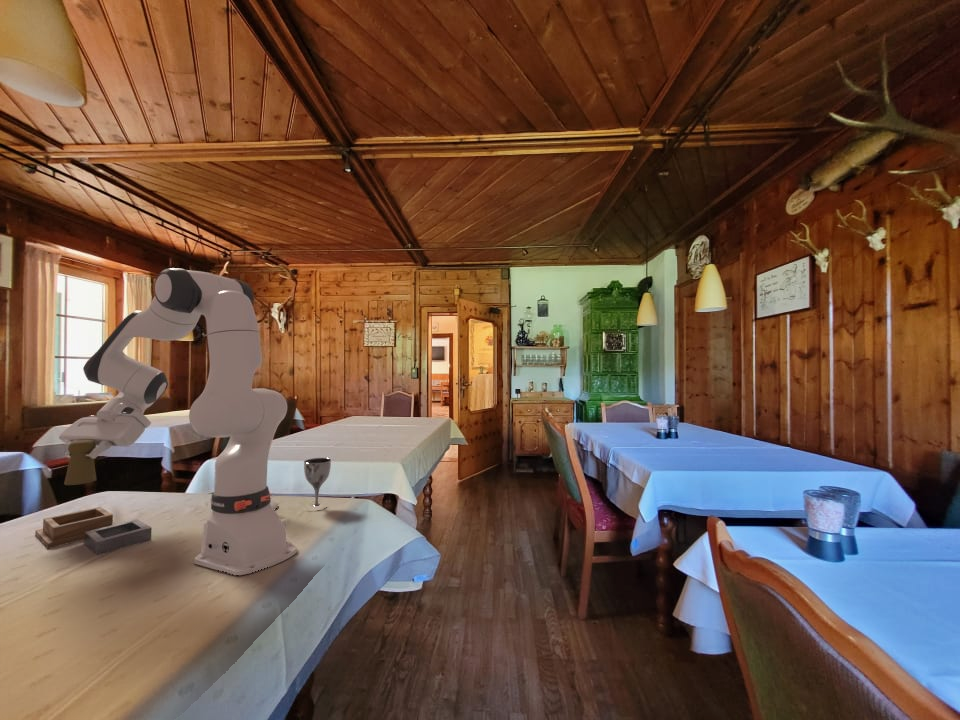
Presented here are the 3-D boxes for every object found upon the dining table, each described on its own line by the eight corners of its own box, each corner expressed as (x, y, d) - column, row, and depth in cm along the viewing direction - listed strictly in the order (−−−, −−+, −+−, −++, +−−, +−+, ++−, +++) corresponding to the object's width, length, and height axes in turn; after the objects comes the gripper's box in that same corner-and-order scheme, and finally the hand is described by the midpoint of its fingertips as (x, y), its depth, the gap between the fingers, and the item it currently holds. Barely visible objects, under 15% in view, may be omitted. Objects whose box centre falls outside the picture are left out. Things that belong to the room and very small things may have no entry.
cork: (75, 485, 99) (76, 443, 100) (57, 484, 101) (59, 441, 101) (102, 479, 105) (104, 439, 106) (85, 478, 107) (87, 438, 107)
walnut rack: (119, 530, 104) (119, 514, 104) (48, 548, 93) (48, 530, 93) (102, 519, 112) (103, 504, 112) (35, 534, 101) (36, 518, 101)
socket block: (151, 539, 99) (151, 527, 99) (96, 555, 90) (97, 542, 90) (136, 530, 104) (137, 519, 104) (83, 544, 96) (84, 532, 96)
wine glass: (304, 504, 126) (305, 458, 126) (330, 502, 128) (331, 457, 129) (301, 513, 118) (302, 464, 119) (328, 510, 121) (329, 462, 121)
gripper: (78, 408, 111) (34, 449, 101) (142, 409, 110) (104, 451, 99) (94, 422, 116) (54, 462, 106) (156, 423, 114) (121, 464, 104)
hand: (79, 457), depth 103 cm, fingers closed on cork, 5 cm apart
